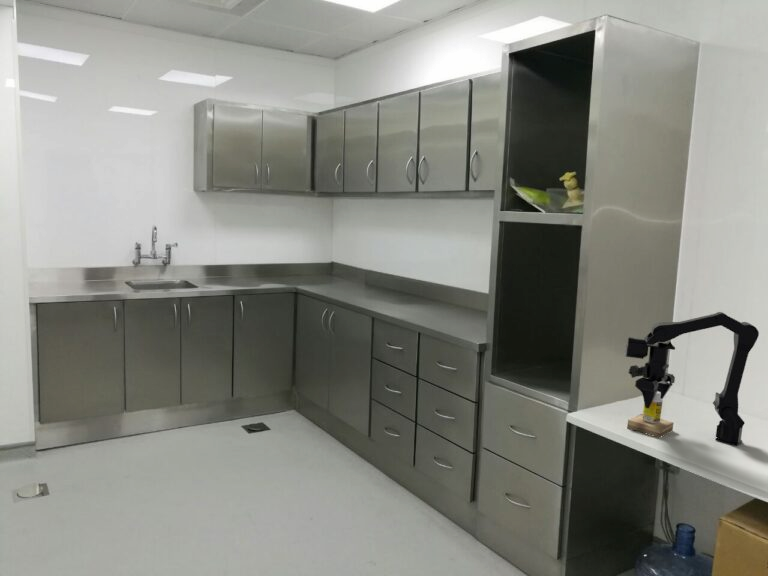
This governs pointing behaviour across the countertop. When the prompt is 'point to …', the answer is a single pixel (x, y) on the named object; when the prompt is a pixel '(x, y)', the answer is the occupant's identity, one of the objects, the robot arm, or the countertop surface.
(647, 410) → the supplement bottle
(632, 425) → the brown box
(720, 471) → the countertop surface
